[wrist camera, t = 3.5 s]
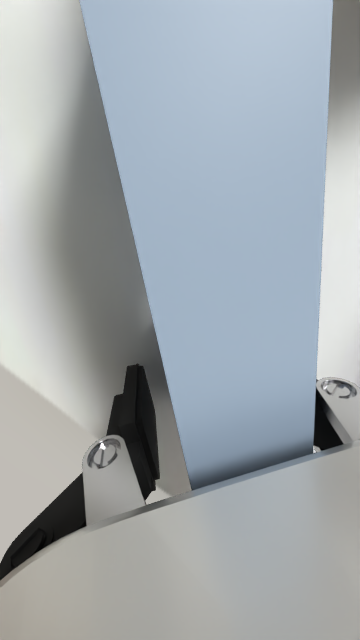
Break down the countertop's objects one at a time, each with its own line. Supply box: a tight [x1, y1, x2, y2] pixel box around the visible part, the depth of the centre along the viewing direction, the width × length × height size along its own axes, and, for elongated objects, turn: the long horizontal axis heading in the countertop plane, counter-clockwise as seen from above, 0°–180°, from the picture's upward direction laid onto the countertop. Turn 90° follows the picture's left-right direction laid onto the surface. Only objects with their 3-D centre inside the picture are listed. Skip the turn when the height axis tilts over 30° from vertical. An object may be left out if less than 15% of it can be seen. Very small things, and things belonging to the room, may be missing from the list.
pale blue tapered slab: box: [79, 0, 333, 491], centre depth 7 cm, size 16×3×7 cm, turn 10°
